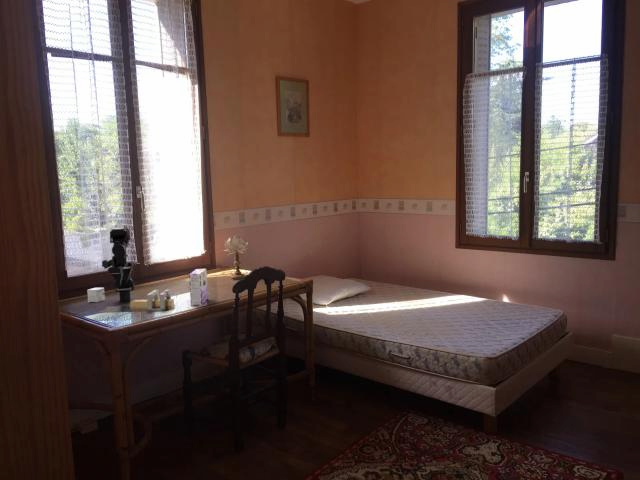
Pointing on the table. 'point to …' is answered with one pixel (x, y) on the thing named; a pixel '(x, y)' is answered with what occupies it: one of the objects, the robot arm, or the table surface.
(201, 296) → the candy box
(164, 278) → the table surface
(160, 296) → the grey slotted rack
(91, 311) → the table surface
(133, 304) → the brass tube
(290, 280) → the table surface
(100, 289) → the skincare box
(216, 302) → the table surface
